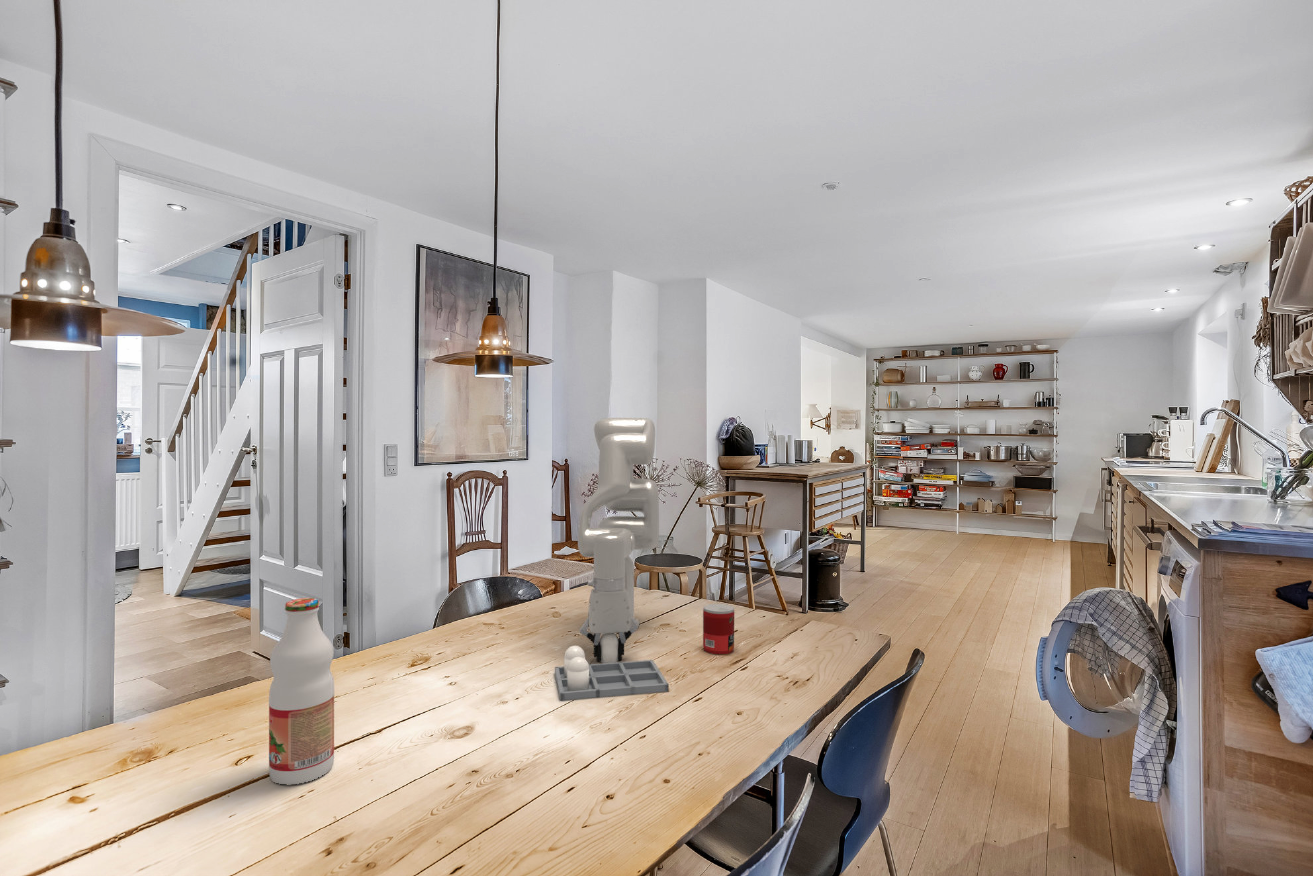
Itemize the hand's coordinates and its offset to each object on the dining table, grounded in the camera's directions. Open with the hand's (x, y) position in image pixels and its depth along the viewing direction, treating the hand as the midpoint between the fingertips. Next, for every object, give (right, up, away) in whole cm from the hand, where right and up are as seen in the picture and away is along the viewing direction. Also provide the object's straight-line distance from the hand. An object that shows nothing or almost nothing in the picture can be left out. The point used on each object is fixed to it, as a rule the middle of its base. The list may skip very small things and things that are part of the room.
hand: (608, 658), depth 159 cm
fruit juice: (-46, -1, -52) cm, 70 cm away
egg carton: (+1, -1, -14) cm, 14 cm away
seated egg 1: (-7, 0, -12) cm, 14 cm away
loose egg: (0, -1, 0) cm, 1 cm away
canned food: (+28, -1, +9) cm, 29 cm away
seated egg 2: (-5, -1, -19) cm, 20 cm away
